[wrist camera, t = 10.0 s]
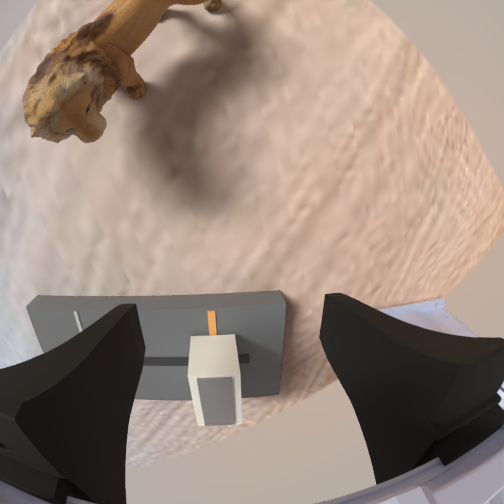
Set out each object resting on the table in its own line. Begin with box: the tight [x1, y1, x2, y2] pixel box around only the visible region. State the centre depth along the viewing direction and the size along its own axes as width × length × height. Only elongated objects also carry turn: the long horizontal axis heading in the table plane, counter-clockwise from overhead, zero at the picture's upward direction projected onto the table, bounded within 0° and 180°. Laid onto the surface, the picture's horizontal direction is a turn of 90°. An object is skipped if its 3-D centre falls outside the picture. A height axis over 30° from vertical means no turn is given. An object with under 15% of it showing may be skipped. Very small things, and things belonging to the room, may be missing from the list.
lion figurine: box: [22, 0, 222, 143], centre depth 10 cm, size 15×5×9 cm, turn 152°
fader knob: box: [188, 334, 242, 426], centre depth 18 cm, size 3×5×4 cm, turn 0°
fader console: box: [26, 290, 286, 400], centre depth 20 cm, size 20×9×2 cm, turn 90°
